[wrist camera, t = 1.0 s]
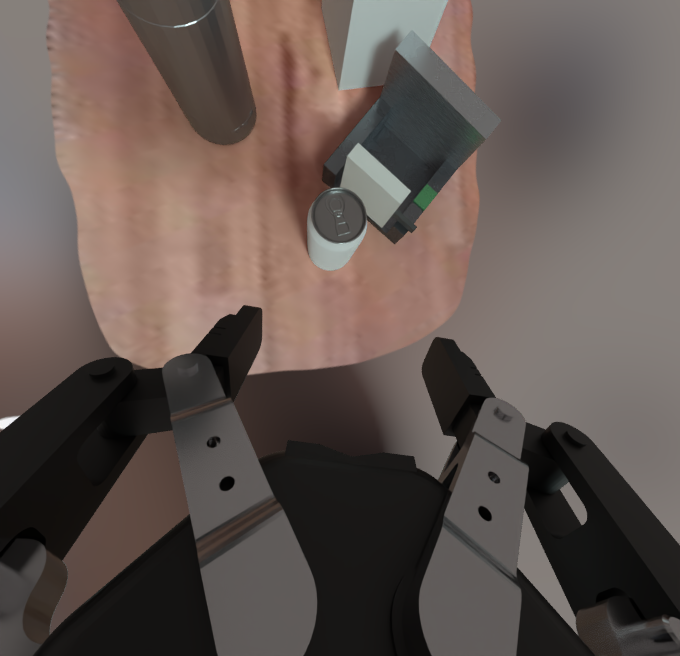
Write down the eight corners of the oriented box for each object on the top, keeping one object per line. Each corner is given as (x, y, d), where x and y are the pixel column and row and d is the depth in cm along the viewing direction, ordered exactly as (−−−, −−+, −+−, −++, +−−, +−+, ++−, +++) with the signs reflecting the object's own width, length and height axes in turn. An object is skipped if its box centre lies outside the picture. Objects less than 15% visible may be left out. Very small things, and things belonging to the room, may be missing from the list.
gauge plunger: (339, 190, 36) (347, 155, 29) (347, 179, 36) (358, 142, 29) (399, 244, 37) (423, 224, 30) (408, 233, 37) (433, 211, 30)
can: (343, 221, 37) (360, 175, 26) (357, 264, 38) (379, 238, 26) (301, 233, 37) (298, 191, 25) (315, 276, 37) (318, 255, 25)
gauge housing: (322, 180, 37) (326, 130, 27) (385, 104, 38) (411, 29, 28) (394, 244, 38) (423, 218, 29) (453, 169, 39) (501, 120, 30)
